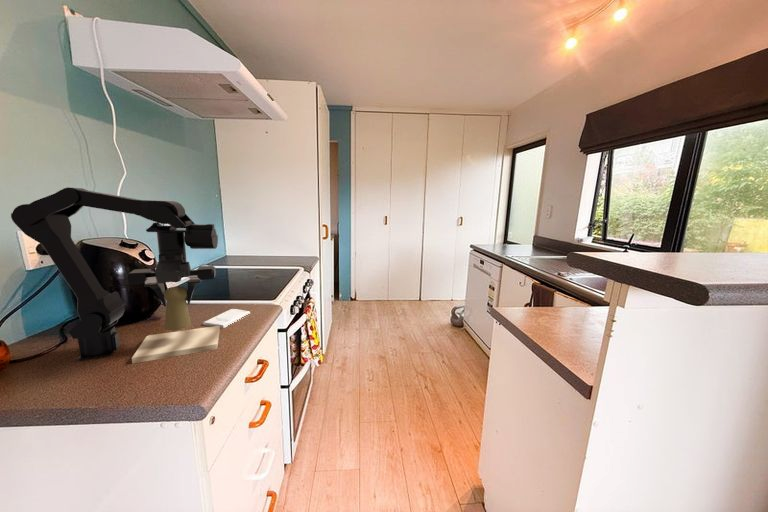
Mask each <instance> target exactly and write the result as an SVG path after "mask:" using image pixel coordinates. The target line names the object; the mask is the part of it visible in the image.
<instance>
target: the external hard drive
mask: <svg viewBox="0 0 768 512" xmlns="http://www.w3.org/2000/svg"><path fill="white" fill-rule="evenodd" d="M248 314H250V315H251V311H249V310H245V309H244V310H243V309H236V308H230V309H229V310H226V311H224V312H222V313H220V314H218V315H216V316H213V317H212V318H210V319H207V320H205V321H203V322H202V325H203V326H207V327H213V326H219V327H220V329H226V328H227V327H228V325H229V326H230V324H231V325H233V324H235V323H236V322H238V321H240V320H242V319H243V318H242V317H244V316H246V315H248ZM248 316H249V315H248ZM246 317H247V316H246ZM241 318H242V319H241ZM244 318H245V317H244ZM239 319H240V320H239ZM237 320H238V321H237ZM234 322H235V323H234ZM232 323H233V324H232Z"/></svg>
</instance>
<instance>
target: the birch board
mask: <svg viewBox="0 0 768 512" xmlns="http://www.w3.org/2000/svg"><path fill="white" fill-rule="evenodd" d="M220 330H221V328H220V327H219V326H207V327H199V328H193V329H191V328H190V329H186V330H179V331H177V330H176V331H172V332H164V333H158V334H157V333H156V334H149V335H146V337H145V338H144V339H143V341H142V342H141V344H140V345H139V346H138V348H137V350H136V351H135V353H134V354H133V355H132V357H131V363H132V364H139V363H144V362H151V361H155V360H156V361H157V360H163V359H168V358H173V357H179V356H185V355H191V354H196V353H203V352H209V351H213V350H218V345H219V338H220V332H221V331H220Z"/></svg>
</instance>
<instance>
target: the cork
mask: <svg viewBox="0 0 768 512" xmlns="http://www.w3.org/2000/svg"><path fill="white" fill-rule="evenodd" d="M187 294H188V288H186V287H184V286H170V287H167V288H166V289H165V292H164V297H165V299H166V300H167V306H165V307H166V309H165V319H164V327H163V328H164V330H166V331H177V330H179V331H180V330H182V329H187V328H188V327H190V326H191V325H192V321H191V317H190V313H189V312H190V311H189V308H188V302H187V299H186V298H187Z"/></svg>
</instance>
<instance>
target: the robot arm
mask: <svg viewBox="0 0 768 512" xmlns="http://www.w3.org/2000/svg"><path fill="white" fill-rule="evenodd" d="M84 207H87V208H93V209H100V210H104V211H105V210H106V211H112V212H116V213H117V212H119V213H123V214H124V213H125V214H130V215H131V214H132V215H136V216H139V217H141V218H142V219H143V218H144V219H146V220H149V221H151V222H153V223H152V224H151V225H150V226H149V227H148V228H146V229H145V231H146V232H147V233H156V239H157V248H158V262H157V264H156V267H155V270H154V271H152V269H151V268H140V269H139V268H137V269H133V270H132V271H130V272H129V273H127V274H126V276H125V284H126V286H132V285H135V286H136V285H143V286H144V287H145V288H146V287H147V288H148V287H149V288H150V289H152V290H153V291H154V293H155V294H156V295H157V297H158V298H159V300H160V302H161V303H162V305H163V307H166V306H167V300H166V299H165V297H164V292H165V290H166V289H165V283H178V282H181V281H182V278H188V281H187V291H188V294H187V297H186V298H187V299H186V303H187V305H190V304H191V300H192V298H193V294H194V290H195V287H197V286H196V285H197V284H200V283H201V282H202V281H205V280H206V281H207V280H214V279H215V278H216V275H217V271H216V267H215V266H214V265H203V266H202V265H201V266H198V268H197V269H191V265H190V261H187V252H186V246H187V247H189V248H190V249H191V250H195V249H196V250H210V249H211V250H212V249H213V250H216V249H217V247H218V240H219V239H218V238H219V235H218V234H217V230H216V228H215V224H214V223H207V224H200V223H199V224H197V223H195V222H194V221H193V220H192V219H191V218H190V216H188V215H187V213H186V209H185V207H184V206H183V205H182V203H180V202H178V201H174V200H145V199H143V200H142V199H138V198H133V197H127V196H123V195H122V196H120V195H115V194H110V193H103V192H97V191H93V190H92V191H91V190H88V189H85V188H81V187H65V188H64V187H63V188H62V189H60V190H58V191H56V192H55V193H53V194H50V195H47V196H44V197H42V198H39V199H36V200H33V201H32V202H30V203H25V204H20V205H17V206H16V207H15V208H13V211H12V213H10V218H11V220H12V222H13V223H14V224H15V225H16V227H17V228H19V229H20V231H22V233H23V234H24V235H26V236H27V237H28V238H30V239H32V240H33V241H35V242H37V243H39V244H40V245H42V247H43V248H44V250H45V251H46V253H47V254H48V256H49V257H50V259H51V261H52V262H53V264H54V266H56V268H57V270H58V271H59V272H60V274H61V276H62V277H63V279H64V280H65V281H66V283H67V284H68V286H69V287H70V289H71V291H72V292H73V293H74V295H75V297H76V299H77V304H76V312H77V315H78V317H79V320H80V321H79V322H78V323H77V324H76V325H74V327H72V328H71V329H70V330H69V331H68V333H69V335H70V336H71V338H72V339H73V340H77V344H78V349H79V356H78V357H77V358H76V361H80V362H81V361H85V360H92V359H97V358H104V357H110V356H112V355H114V353H115V352H116V351H117V349H118V348H119V347H120V346H121V342H120V337H119V336H120V334H119V332H118V331H116V326H115V325H117V324H118V322H119V319H120V318H121V317H123V315H124V313H125V311H126V308H125V305H126V302H124V301H123V300H122V298H121V296H120V293H119V292H118V291H117V290H116V291H114V292H112V293H111V292H109V291H107V290H105V289H104V287H102V285H101V283H100V281H99V280H98V279H97V277H96V276H95V274H94V272H93V271H92V269H91V268H90V266H89V264H88V262H87V261H86V259H85V258H84V256H83V255H82V253H81V252H80V250H79V248H78V247H77V245H76V244H75V242H74V240H73V238H72V222H71V221H70V218H71V217H72V216H73V215H74V216H75V214H77V213H78V212H79V211H81V209H82V208H84Z"/></svg>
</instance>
